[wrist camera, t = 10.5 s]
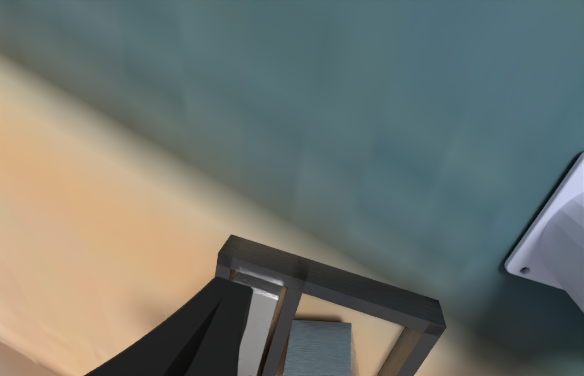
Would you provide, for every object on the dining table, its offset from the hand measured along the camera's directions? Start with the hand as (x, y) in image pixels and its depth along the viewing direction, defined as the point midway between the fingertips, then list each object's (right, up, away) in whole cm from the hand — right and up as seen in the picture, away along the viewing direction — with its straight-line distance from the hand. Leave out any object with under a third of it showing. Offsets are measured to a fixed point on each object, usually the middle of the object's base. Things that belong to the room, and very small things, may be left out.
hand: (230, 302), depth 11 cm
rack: (+3, -8, +14) cm, 17 cm away
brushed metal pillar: (+5, -9, +13) cm, 17 cm away
